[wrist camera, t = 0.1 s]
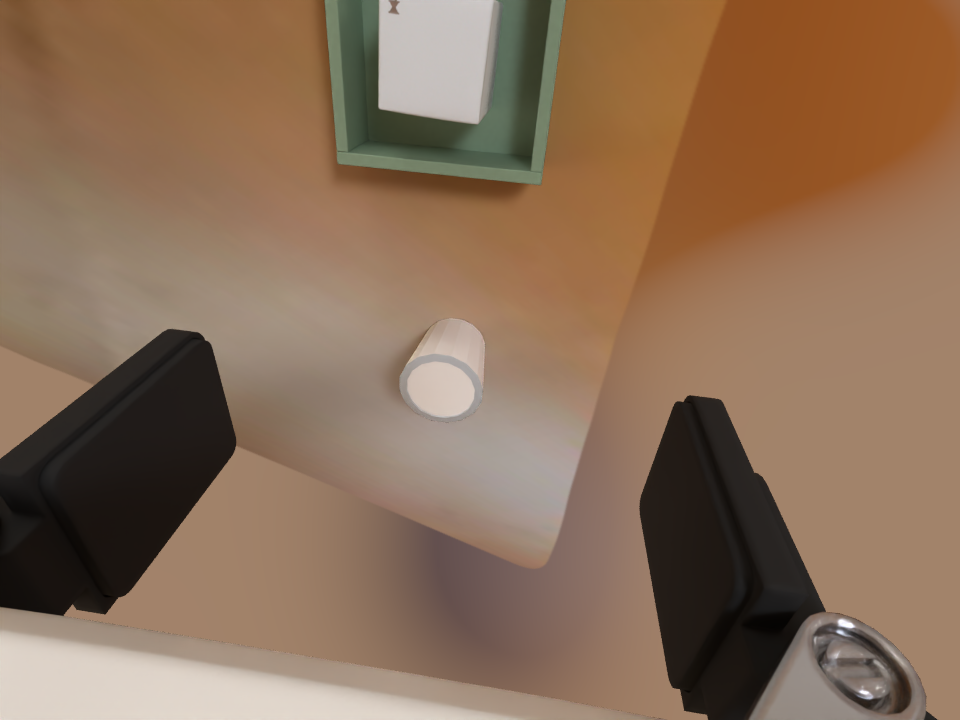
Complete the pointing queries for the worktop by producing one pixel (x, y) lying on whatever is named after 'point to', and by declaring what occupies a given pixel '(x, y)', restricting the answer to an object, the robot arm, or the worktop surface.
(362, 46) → the green square tray
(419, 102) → the product box
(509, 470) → the worktop surface
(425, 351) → the shot glass
